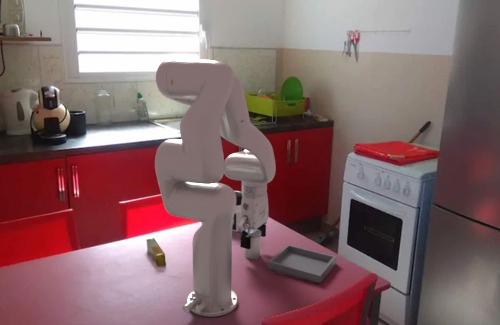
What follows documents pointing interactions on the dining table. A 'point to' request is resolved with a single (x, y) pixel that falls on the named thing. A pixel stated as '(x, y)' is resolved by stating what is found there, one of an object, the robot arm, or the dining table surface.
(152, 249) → the medication box
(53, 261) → the dining table surface
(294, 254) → the tray
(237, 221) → the container
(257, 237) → the mushroom
